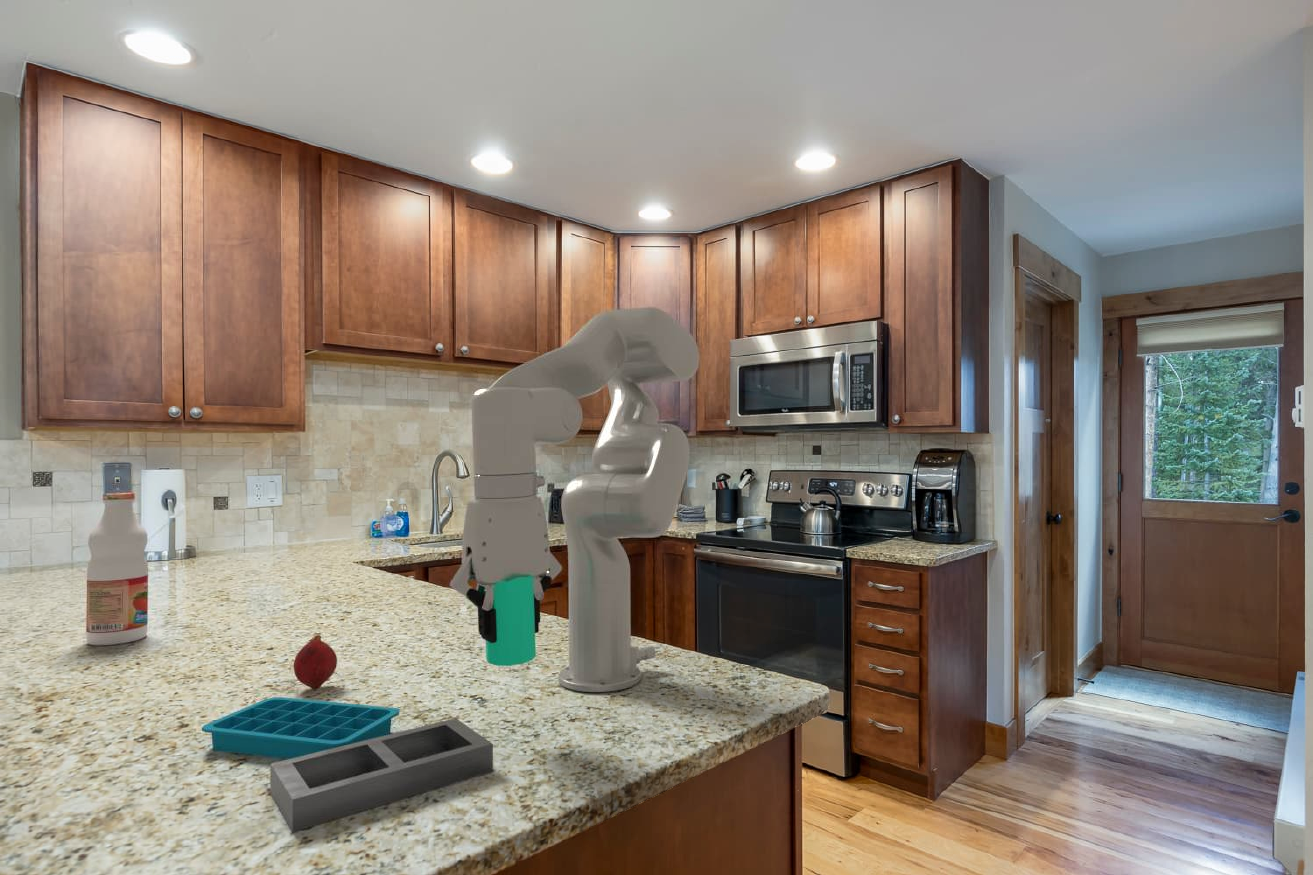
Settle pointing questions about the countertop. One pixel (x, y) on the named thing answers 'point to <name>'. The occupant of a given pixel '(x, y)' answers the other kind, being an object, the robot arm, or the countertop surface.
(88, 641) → the fruit juice
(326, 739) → the ice cube tray
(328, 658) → the onion
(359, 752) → the hollow block
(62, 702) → the countertop surface
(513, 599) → the candle
